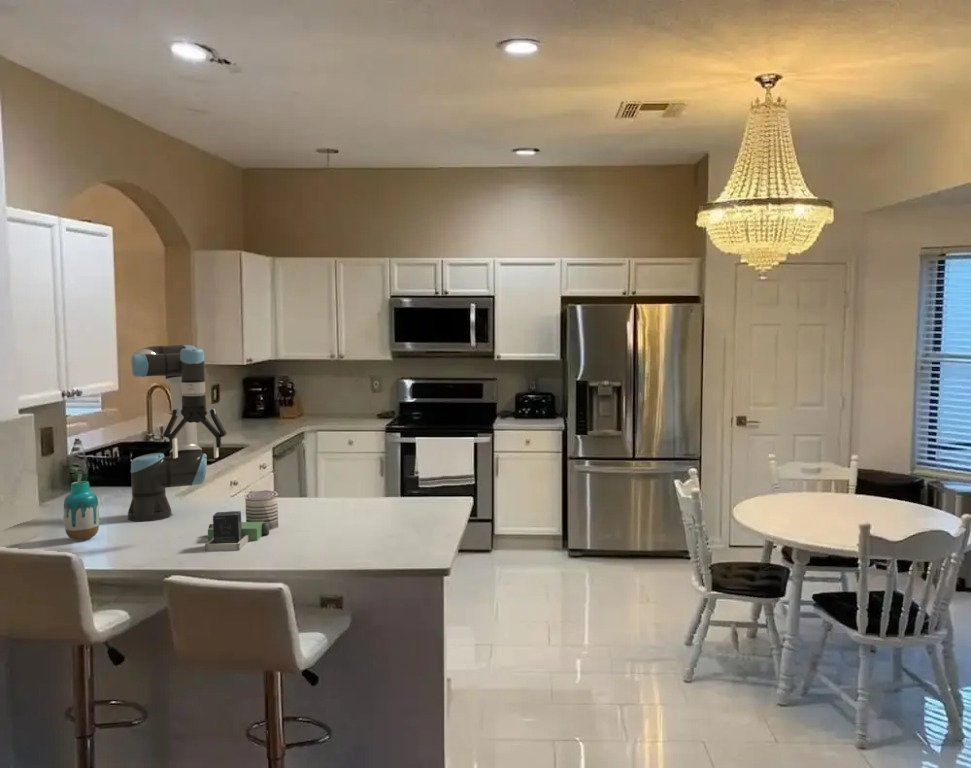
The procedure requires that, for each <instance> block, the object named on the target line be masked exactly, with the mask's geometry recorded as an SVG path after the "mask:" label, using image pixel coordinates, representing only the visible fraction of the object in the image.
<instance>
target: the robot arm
mask: <svg viewBox="0 0 971 768" xmlns="http://www.w3.org/2000/svg"><path fill="white" fill-rule="evenodd" d="M205 360H206V358H205V352H204V350H203V349H202V348H198V347H196V346H194V345H187V344H178V345H174V344H173V345H152V346H147V347H144V348H141V349H138V350H137V351H135V352H133V354H132V356H131V359H130V365H131V373H132V376H133V377H135V378H137V377H138V378H139V377H140V378H145V377H165V382H166V383H167V384H169V387H170V390H169V391H170V404H171V418H170V420H169V421H168V424H167V425H166V428H165V430H164V432H163V437H164V438H168V440H169V449H170V451H169V455H168V456H165V454H164V453H163V452H156V453H149V454H148V453H147V454H143V455H140V456H138V457H135V458H133V459H132V461H131V463H130V472H129V473H131V474H130V475H131V501H130V503H129V507H128V511H127V520H129V521H132V522H147V521H148V522H150V521H157V520H162V519H166V518H169V517H171V516H172V508H171V504H170V503H169V500H168V498H167V495H166V489H167V488H175V487H176V488H177V487H188V486H190V487H192V486H196V485H198V486H199V485H202V484H203V483H204V482H205V479H206V474H207V461H208V460H207V458H208V457H207V454H206V453H203V449H202V447H201V446H199V445H198V432H197V424H198V423H201V424H202V425H204V427H206V428H207V430H209V432H210V433H211V434H212V435H213V436H214V438H213V441H212V442H213V458H214V459H216V458H219V456H220V455H219V448H221V447H222V437H225V436H227V431H226V430H225V427H224V426H223V424H222V423H221V420H220V419H219V417H218V415H217V409H216V408H212V409H207V404H206V403H207V402H206V399H207V398H206V395H205V393H206V380H205V375H206V374H205V372H206V371H205ZM207 414H208V415H209V416H210V418H211V419H212V422H213V423H214V425H215V426H214V425H213V424H212V423H211V422H210V421H209V419H208V418H207V417H206V416H207Z"/></svg>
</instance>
